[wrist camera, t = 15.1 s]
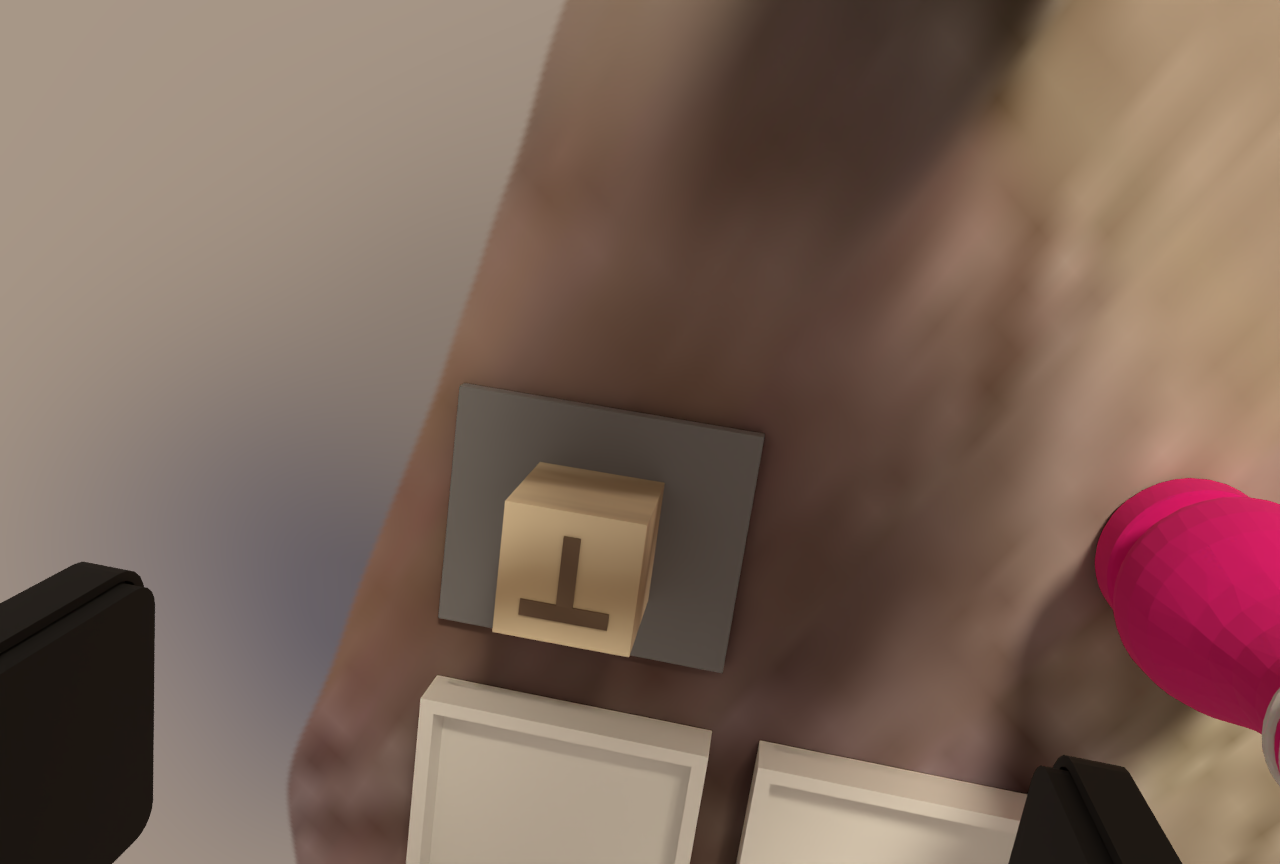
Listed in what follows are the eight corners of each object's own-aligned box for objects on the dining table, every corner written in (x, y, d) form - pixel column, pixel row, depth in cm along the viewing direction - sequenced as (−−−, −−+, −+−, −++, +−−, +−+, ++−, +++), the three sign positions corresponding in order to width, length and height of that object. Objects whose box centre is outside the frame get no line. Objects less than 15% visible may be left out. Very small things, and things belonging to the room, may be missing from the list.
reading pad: (464, 382, 39) (459, 385, 39) (764, 433, 38) (764, 437, 37) (442, 611, 42) (438, 617, 41) (723, 666, 40) (722, 673, 40)
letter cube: (540, 461, 39) (504, 501, 34) (664, 482, 38) (646, 526, 33) (527, 581, 40) (491, 635, 35) (647, 602, 40) (628, 661, 35)
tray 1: (437, 675, 43) (420, 698, 41) (712, 730, 41) (708, 757, 39) (415, 906, 46) (399, 938, 44) (670, 964, 44) (665, 1000, 42)
